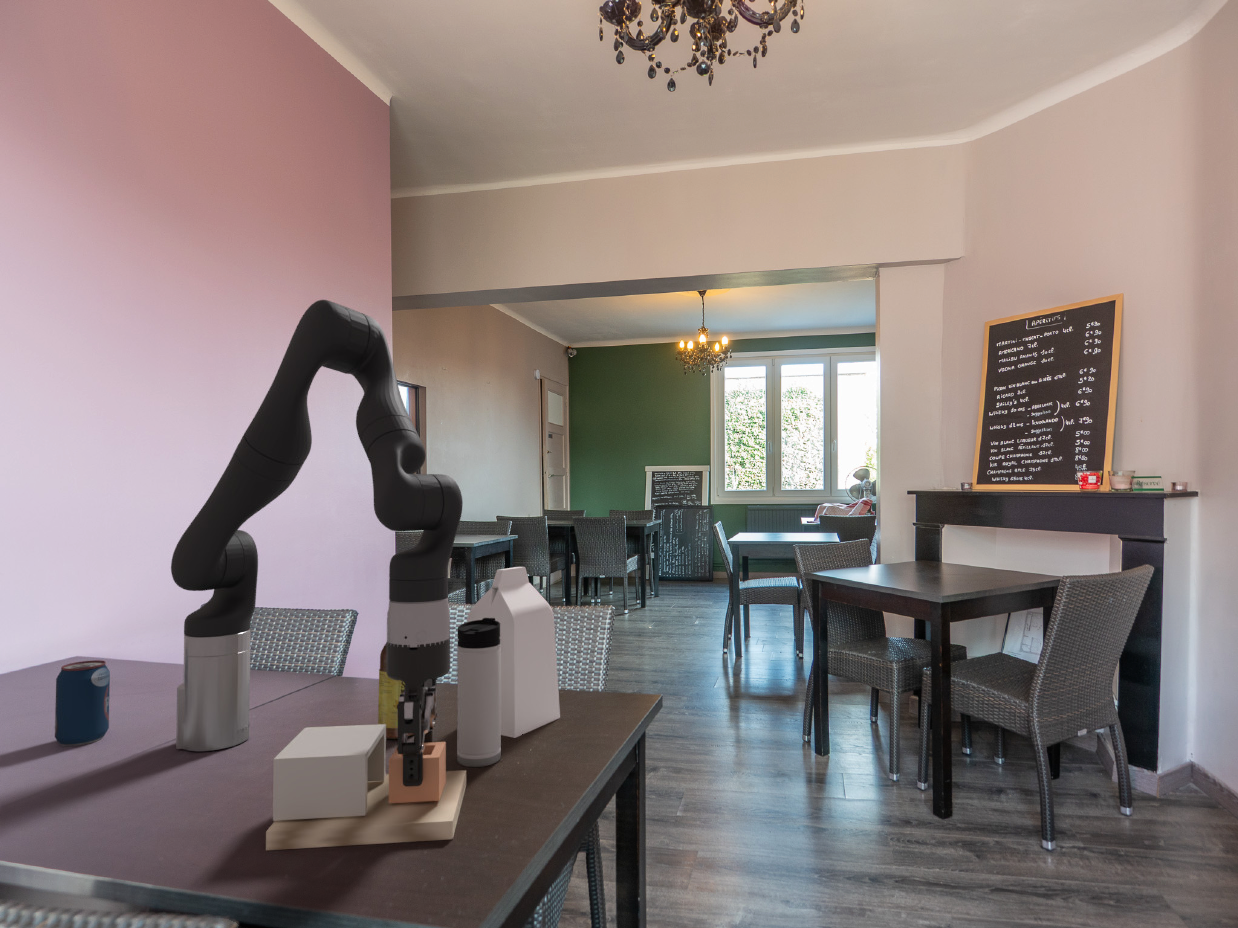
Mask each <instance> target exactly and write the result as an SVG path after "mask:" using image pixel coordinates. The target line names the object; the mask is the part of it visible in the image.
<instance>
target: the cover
mask: <svg viewBox="0 0 1238 928" xmlns="http://www.w3.org/2000/svg"><path fill="white" fill-rule="evenodd" d="M386 744H387V738H386V724H378V723H376V724H359V725H357V724H355V725H354V724H353V725H335V726H315V727H314V726H313V727H304V728H303V729H302V730H301V731H300V732H299V733H298V734H297V735H296V736H295V737H294V738H293V739H292V740H291V741H290V742H289V743H288V744H287V745H286V746H285V747H284V748H283V749H282V750H281V751H280V752H279V753H278V754H277V755H276V756H275V757H274V758H273V772H272V774H273V781H272V783H273V785H272V788H273V789H272V790H273V791H272V794H273V795H272V821H273V822H274V821H276V820H294V819H312V818H330V817H347V816H365V815H366V813H367V782H370V781H384V780H385V778H386V774H387V773H386V771H387V765H386V764H387V763H386V762H387V758H386V757H387V754H386V753H387V752H386V751H387V750H386V749H387V747H386V746H387V745H386Z"/></svg>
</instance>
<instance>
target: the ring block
mask: <svg viewBox="0 0 1238 928" xmlns="http://www.w3.org/2000/svg"><path fill="white" fill-rule="evenodd" d="M424 746H425V749H424V750H423V781H422V784H421V785H420V786H409V787H406V786H404V785H403V754H398V751H397V747H396V748H394V749H395V750H394V751H393V753H392V754H391V756H390V757H389V759H388V774H389V803H405V802H423V801H439V800H440V797H441V794H442V791H443V788H444V786H445V783H446V771H447V762H446V761H447V754H446V753H447V752H446V751H447V743H446V741H435V742H434V741H433V742H429V743H424Z"/></svg>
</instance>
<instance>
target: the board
mask: <svg viewBox="0 0 1238 928" xmlns="http://www.w3.org/2000/svg"><path fill="white" fill-rule="evenodd" d="M466 787H467V770H465V769H464V770H446V783H445V786H444V788H443V791H442V794H441V797H440V800H439V801H423V802H405V803H389V773H386V778H385V780H384V781H370V782H367V813H366V815H365V816H347V817H330V818H312V819H294V820H276V821H273V823H272V824H271V825H270V826H269V827H268V829H267V830H266V832H265V851H277V850H278V851H279V850H291V849H293V850H295V849H296V850H297V849H311V848H313V849H314V848H325V847H326V848H327V847H329V848H331V847H343V846H344V847H345V846H358V845H359V846H362V845H376V844H377V845H378V844H393V843H395V844H396V843H397V844H398V843H411V842H413V843H414V842H425V841H427V842H428V841H429V842H430V841H443V840H453V839H454V837H455V836H454V835H455V832H456V831H455V830H456V827H457V823H458V820H459V815H460V811H461V807H462V805H463V800H464V796H465V792H466V789H467V788H466Z"/></svg>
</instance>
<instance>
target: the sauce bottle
mask: <svg viewBox="0 0 1238 928" xmlns="http://www.w3.org/2000/svg"><path fill="white" fill-rule="evenodd" d="M387 615H388V611H387ZM387 615H386V616H387ZM379 657H380V658H379V669H378V705H377V709H378V710H377V724H386V740H388V739H390V740H398V709H397V705H398V702H399V697H400V694H403V691H404V688H405V683H404V682H403V681H401V680H398V681H397V680H393V679H391V678H389V677H388V676H387V641H386V643H385V644H384V645H383V647H382V649H381V651H380V655H379ZM410 736H411V737H412V736H414V733H411V734H409V735H408V737H410Z"/></svg>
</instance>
